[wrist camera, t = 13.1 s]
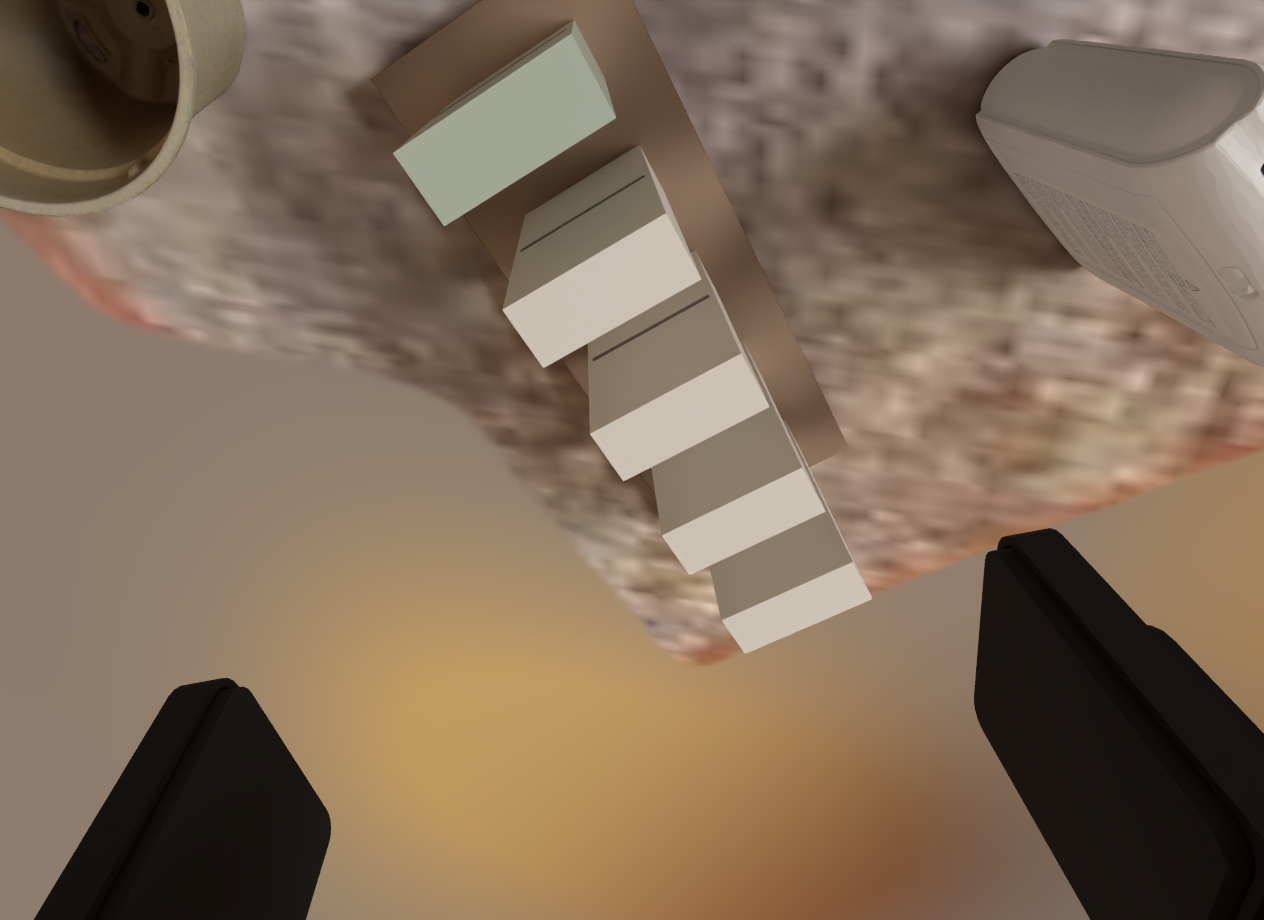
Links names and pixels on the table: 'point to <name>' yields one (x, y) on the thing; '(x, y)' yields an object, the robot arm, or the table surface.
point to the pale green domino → (508, 125)
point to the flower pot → (105, 95)
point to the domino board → (645, 115)
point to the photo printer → (1145, 174)
